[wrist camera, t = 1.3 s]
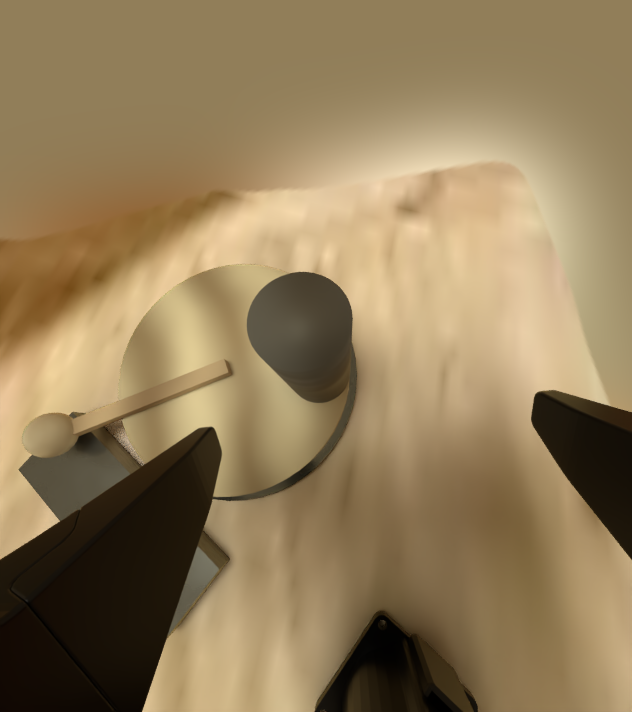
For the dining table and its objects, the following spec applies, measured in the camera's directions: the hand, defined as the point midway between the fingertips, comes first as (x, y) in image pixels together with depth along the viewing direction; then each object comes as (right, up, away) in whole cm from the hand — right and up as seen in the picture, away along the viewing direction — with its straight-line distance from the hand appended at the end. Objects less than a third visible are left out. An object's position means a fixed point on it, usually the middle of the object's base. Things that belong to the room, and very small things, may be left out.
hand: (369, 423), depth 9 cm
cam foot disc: (-10, 0, +13) cm, 17 cm away
